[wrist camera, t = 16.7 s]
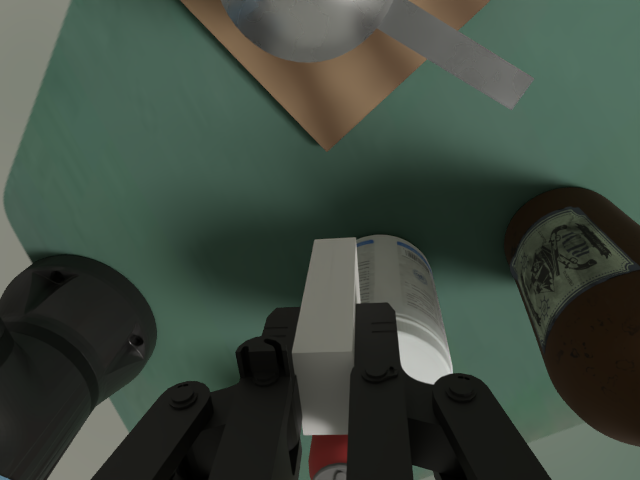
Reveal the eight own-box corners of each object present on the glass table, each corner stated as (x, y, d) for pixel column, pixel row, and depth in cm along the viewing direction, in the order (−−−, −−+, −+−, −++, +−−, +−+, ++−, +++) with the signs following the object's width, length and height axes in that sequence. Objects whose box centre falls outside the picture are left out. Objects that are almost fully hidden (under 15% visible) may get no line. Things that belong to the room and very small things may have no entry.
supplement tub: (329, 319, 49) (310, 438, 36) (325, 230, 45) (302, 327, 32) (432, 321, 48) (450, 445, 35) (437, 230, 44) (460, 331, 31)
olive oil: (658, 225, 42) (974, 494, 20) (561, 312, 46) (730, 611, 24) (559, 153, 40) (782, 356, 18) (469, 250, 45) (557, 510, 22)
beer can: (378, 360, 51) (377, 459, 40) (388, 410, 54) (390, 515, 43) (314, 366, 52) (297, 464, 41) (327, 415, 55) (313, 518, 44)
